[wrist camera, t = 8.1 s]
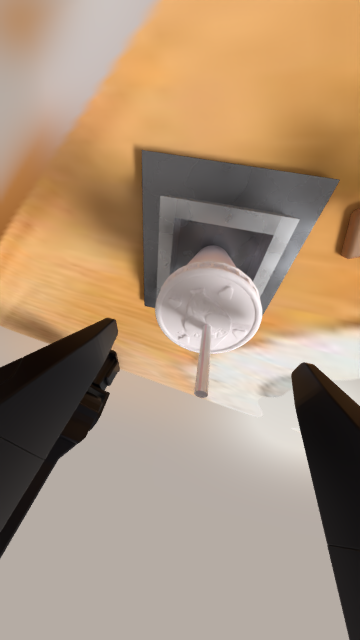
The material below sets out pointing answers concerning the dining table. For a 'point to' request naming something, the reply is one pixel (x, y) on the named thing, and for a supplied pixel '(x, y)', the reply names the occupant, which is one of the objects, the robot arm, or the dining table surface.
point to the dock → (226, 217)
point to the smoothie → (208, 308)
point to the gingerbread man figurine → (352, 237)
